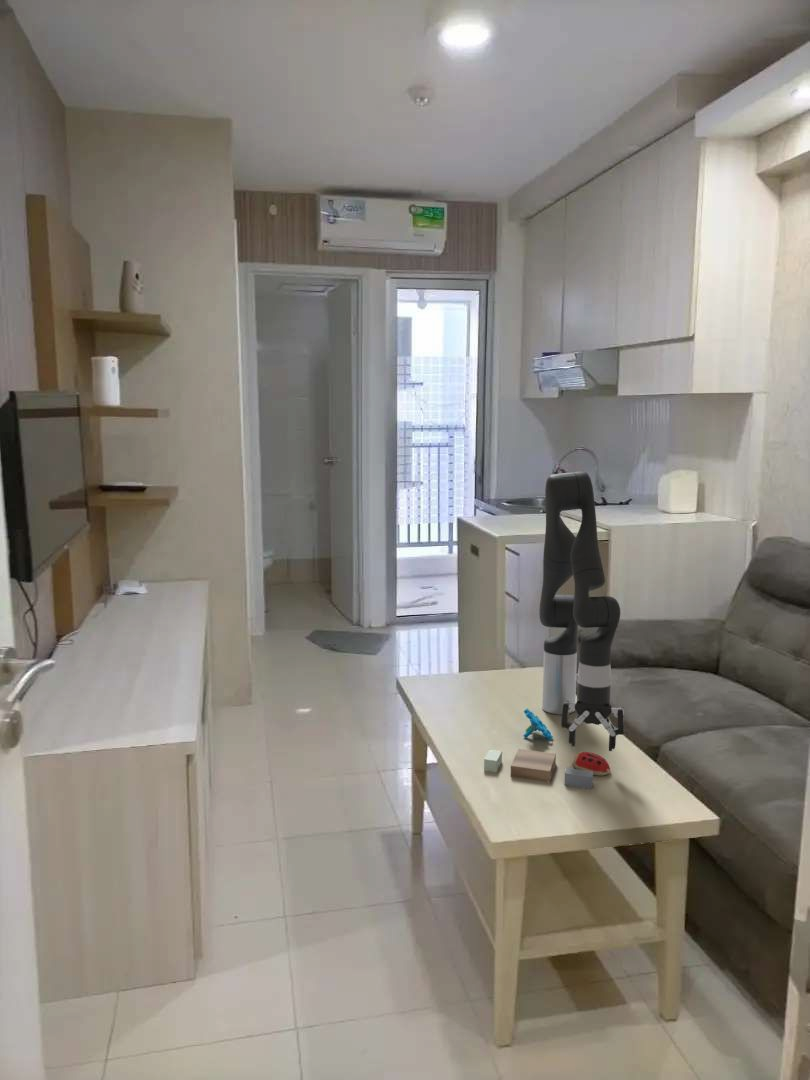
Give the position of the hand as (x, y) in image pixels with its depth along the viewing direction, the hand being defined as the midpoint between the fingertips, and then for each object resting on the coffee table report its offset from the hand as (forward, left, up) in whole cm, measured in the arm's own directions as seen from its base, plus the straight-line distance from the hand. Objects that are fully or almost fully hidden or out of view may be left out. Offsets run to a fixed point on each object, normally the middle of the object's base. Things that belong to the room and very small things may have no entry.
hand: (591, 747), depth 188 cm
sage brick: (+6, -22, -6) cm, 24 cm away
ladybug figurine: (0, 0, -6) cm, 6 cm away
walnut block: (+5, -13, -6) cm, 15 cm away
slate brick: (+9, -2, -6) cm, 10 cm away
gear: (-15, -15, -6) cm, 22 cm away
